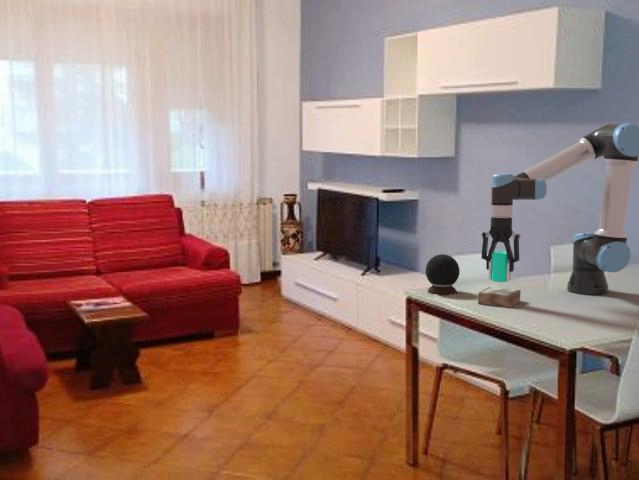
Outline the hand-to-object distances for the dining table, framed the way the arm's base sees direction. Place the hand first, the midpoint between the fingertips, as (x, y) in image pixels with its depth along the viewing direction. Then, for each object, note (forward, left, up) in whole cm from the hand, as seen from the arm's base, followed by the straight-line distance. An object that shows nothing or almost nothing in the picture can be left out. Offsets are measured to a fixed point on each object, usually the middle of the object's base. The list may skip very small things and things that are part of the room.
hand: (499, 279), depth 263 cm
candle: (0, 0, -1) cm, 1 cm away
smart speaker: (+25, -7, -9) cm, 27 cm away
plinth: (0, 0, -9) cm, 9 cm away
